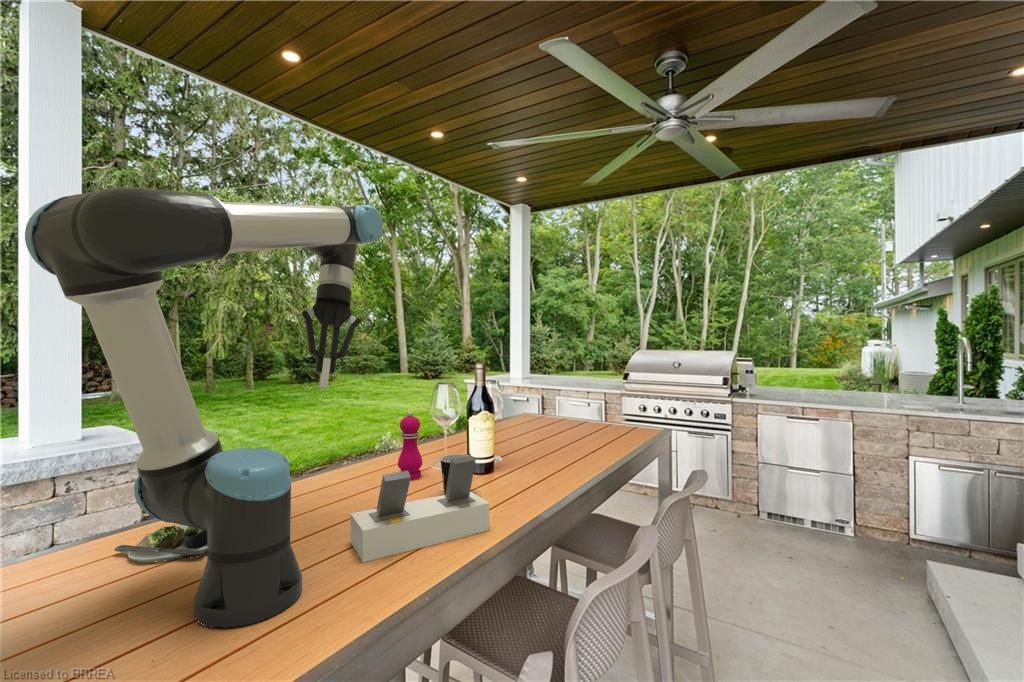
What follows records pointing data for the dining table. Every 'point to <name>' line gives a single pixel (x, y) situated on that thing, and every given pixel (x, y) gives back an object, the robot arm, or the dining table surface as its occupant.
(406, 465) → the pepper mill
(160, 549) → the salad plate
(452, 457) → the coffee mug
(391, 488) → the near switch
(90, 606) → the dining table surface
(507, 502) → the dining table surface
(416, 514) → the switch box
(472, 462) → the far switch
